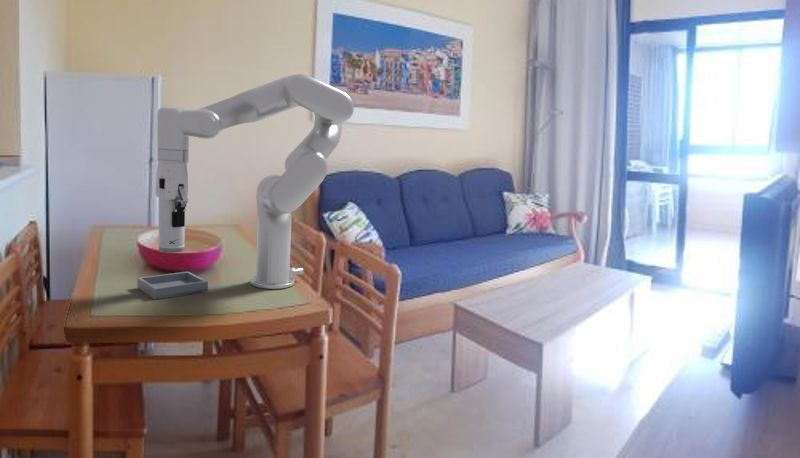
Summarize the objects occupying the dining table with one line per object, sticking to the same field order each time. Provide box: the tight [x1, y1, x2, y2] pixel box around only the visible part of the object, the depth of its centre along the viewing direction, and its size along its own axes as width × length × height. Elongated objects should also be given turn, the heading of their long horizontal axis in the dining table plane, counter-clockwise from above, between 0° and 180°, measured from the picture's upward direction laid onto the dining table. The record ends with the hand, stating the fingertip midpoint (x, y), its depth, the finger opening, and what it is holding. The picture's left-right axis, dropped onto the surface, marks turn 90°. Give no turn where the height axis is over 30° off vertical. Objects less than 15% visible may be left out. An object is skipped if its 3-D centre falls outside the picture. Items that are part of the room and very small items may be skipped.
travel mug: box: [158, 178, 186, 254], centre depth 148 cm, size 6×7×20 cm
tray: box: [136, 271, 209, 300], centre depth 151 cm, size 14×12×3 cm
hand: (172, 223), depth 149 cm, fingers closed on travel mug, 6 cm apart
